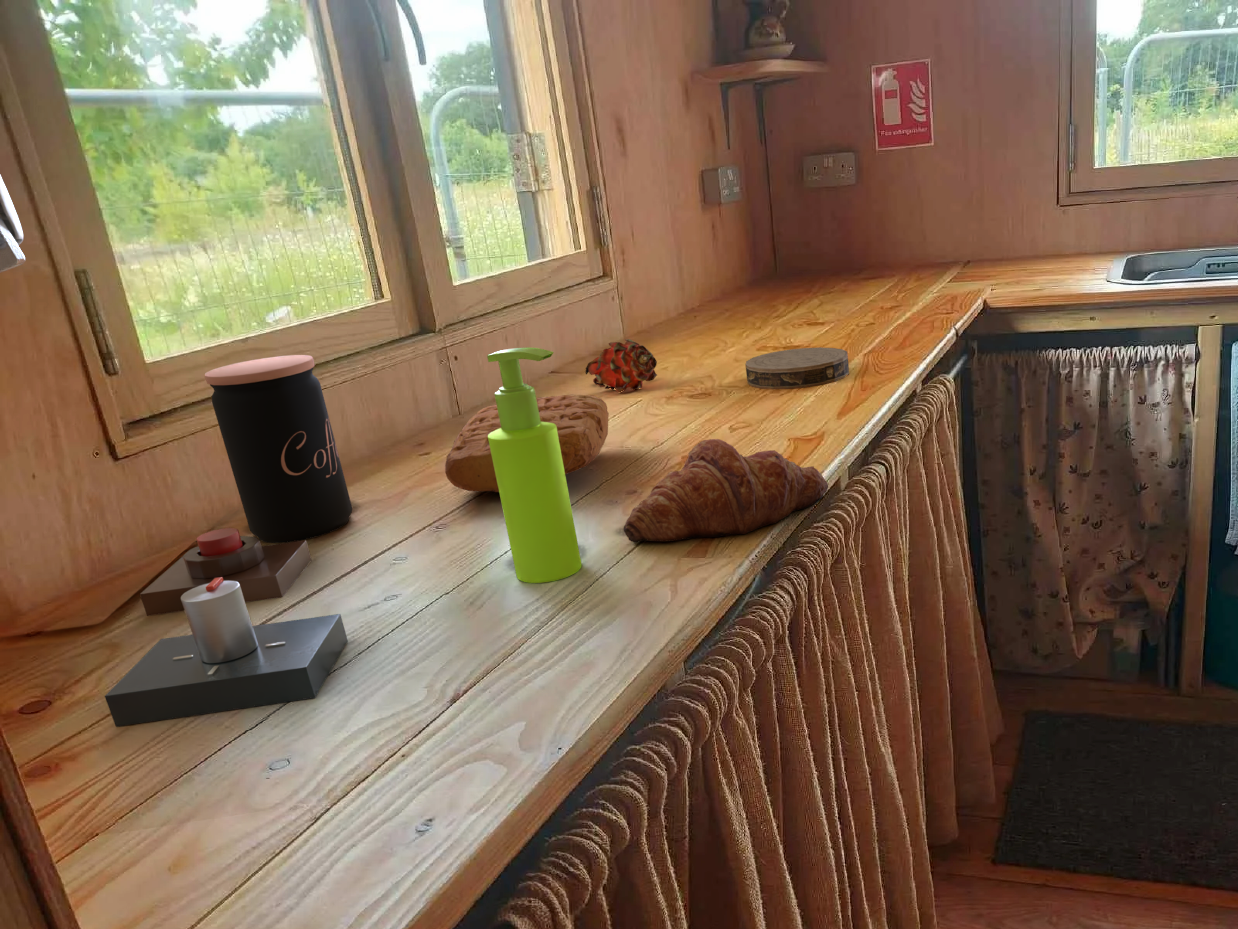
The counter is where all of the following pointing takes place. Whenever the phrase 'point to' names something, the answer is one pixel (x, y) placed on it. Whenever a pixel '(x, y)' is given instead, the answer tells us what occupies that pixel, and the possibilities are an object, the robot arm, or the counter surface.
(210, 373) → the coffee jar
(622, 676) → the counter surface
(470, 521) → the counter surface
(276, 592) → the block
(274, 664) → the panel
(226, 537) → the button
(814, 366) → the tin can
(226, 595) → the tap knob
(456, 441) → the bread loaf
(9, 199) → the robot arm
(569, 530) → the soap dispenser
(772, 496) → the pastry
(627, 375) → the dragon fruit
